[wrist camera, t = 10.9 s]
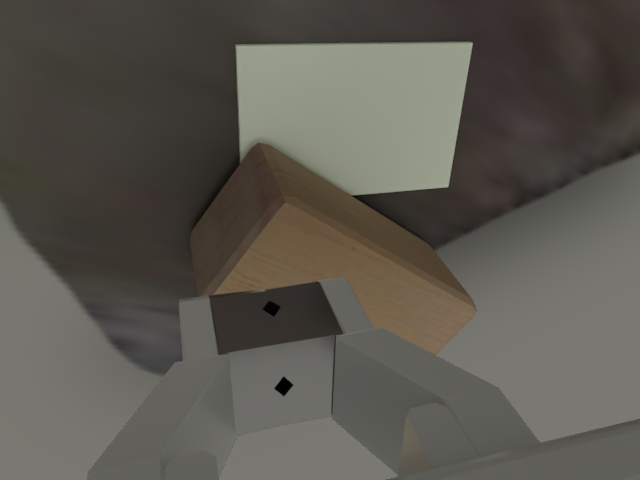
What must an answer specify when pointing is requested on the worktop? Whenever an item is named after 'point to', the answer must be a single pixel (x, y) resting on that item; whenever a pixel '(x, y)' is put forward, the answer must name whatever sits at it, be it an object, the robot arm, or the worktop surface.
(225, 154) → the worktop surface
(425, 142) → the mat
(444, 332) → the wooden block
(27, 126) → the worktop surface
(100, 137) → the worktop surface
